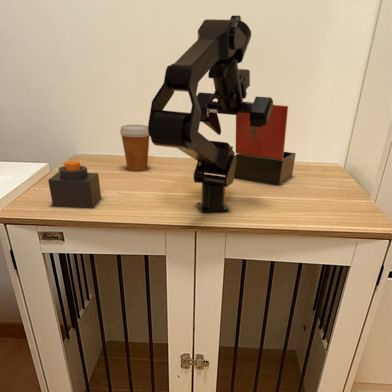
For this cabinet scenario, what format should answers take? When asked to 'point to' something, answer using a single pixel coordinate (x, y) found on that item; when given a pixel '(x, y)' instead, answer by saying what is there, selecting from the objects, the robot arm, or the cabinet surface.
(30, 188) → the cabinet surface
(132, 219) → the cabinet surface
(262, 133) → the red rectangular panel
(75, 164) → the button
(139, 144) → the disposable coffee cup
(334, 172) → the cabinet surface
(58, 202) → the control box
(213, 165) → the robot arm
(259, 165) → the dark brown box
